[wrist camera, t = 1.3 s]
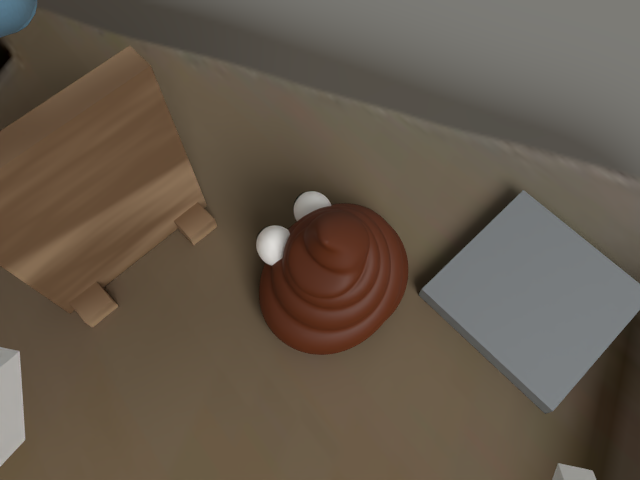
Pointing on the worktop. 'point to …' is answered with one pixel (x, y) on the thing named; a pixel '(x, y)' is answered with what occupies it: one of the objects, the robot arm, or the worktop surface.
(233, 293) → the worktop surface
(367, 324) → the poop emoji
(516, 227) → the board
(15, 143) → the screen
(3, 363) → the robot arm
